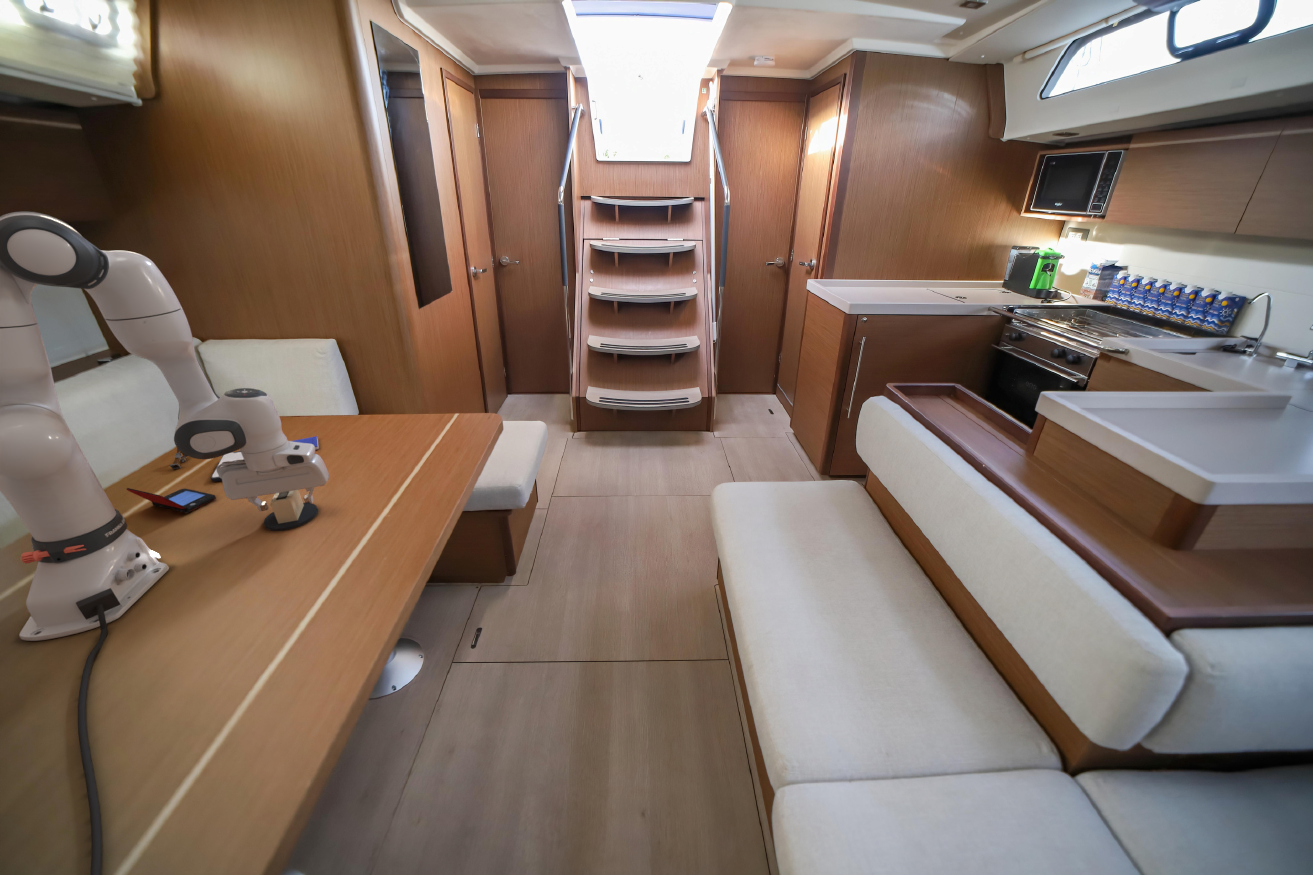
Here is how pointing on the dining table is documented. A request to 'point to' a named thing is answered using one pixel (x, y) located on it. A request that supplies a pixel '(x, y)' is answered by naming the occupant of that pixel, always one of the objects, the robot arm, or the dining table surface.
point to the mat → (305, 516)
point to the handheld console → (178, 499)
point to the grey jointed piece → (177, 457)
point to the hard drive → (309, 441)
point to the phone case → (226, 457)
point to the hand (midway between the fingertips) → (287, 505)
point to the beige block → (287, 506)
